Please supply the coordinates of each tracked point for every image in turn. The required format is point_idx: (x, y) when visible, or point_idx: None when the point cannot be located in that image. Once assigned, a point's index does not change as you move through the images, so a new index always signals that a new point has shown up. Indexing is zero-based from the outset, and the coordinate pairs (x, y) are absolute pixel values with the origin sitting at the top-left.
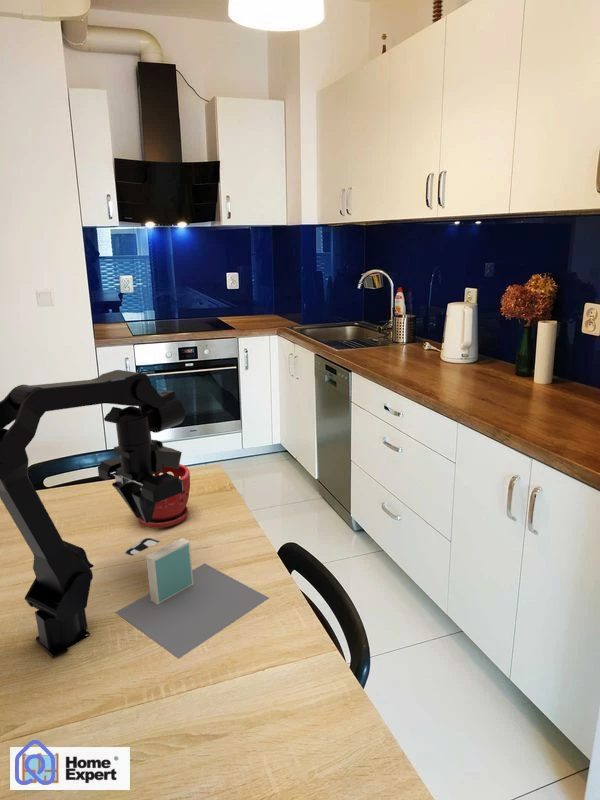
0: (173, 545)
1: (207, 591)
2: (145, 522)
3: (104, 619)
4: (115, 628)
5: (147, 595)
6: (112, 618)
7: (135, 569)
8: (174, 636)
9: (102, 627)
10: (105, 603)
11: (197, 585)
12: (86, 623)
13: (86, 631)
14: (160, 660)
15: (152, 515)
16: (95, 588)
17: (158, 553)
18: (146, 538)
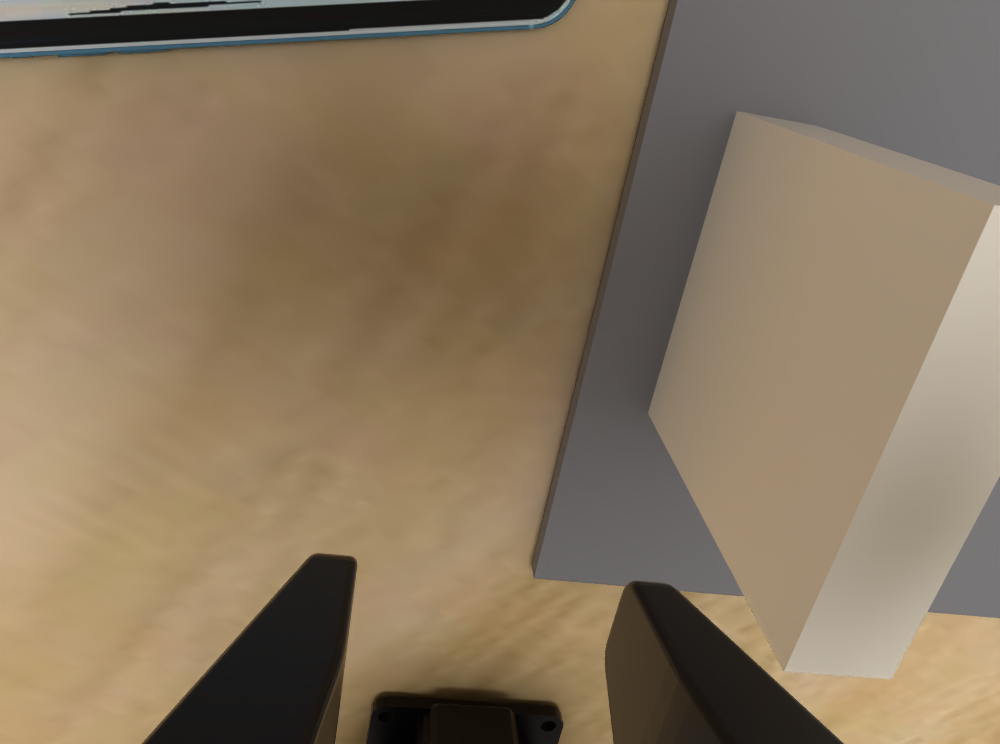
0: (961, 404)
1: (965, 143)
2: (611, 663)
3: (504, 608)
4: (613, 619)
5: (589, 391)
6: (536, 585)
7: (203, 173)
8: (963, 544)
9: (547, 643)
10: (387, 532)
11: (855, 121)
12: (516, 735)
13: (524, 716)
14: (955, 638)
15: (755, 672)
16: (187, 476)
17: (885, 593)
18: None
